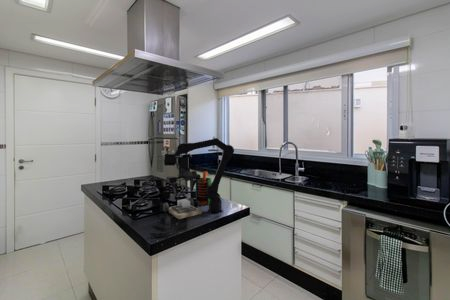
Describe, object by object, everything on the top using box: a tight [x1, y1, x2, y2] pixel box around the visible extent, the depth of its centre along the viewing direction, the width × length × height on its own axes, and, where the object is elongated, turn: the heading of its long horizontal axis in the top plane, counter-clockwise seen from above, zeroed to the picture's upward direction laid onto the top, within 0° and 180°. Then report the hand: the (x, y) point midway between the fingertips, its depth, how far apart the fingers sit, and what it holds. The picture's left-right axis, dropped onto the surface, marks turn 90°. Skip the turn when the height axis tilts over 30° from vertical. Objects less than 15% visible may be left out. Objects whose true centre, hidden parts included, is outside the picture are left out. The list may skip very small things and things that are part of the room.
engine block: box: [176, 198, 190, 211], centre depth 129 cm, size 5×6×5 cm
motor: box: [195, 171, 212, 206], centre depth 145 cm, size 10×9×20 cm
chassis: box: [162, 197, 203, 220], centre depth 129 cm, size 17×18×5 cm
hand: (184, 193), depth 128 cm, fingers open, 9 cm apart
